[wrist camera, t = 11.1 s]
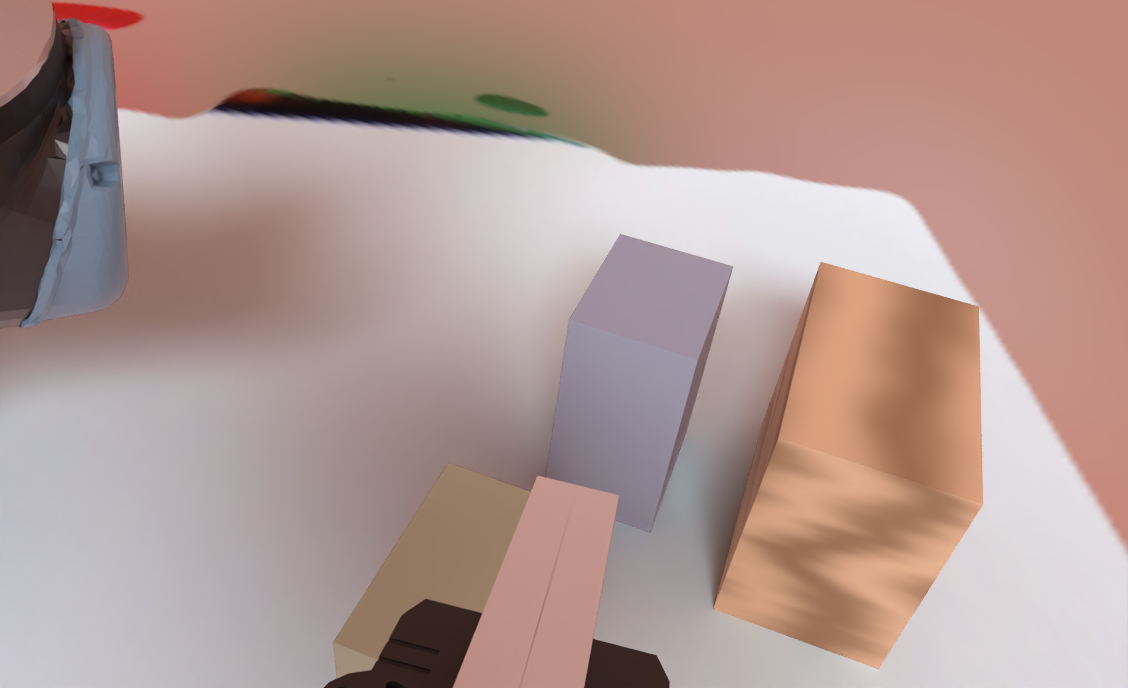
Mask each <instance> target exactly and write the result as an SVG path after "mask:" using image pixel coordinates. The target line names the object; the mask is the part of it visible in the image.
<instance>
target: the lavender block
mask: <svg viewBox="0 0 1128 688" xmlns="http://www.w3.org/2000/svg"><path fill="white" fill-rule="evenodd" d="M732 269H733V266H730V265H726V264H723V263H719V262H716V261H712V260H709V259H705V258H702V257H698V256H695V255H691V254H688V253H684V252H681V251H677V250H674V249H671V248H667V247H664V246H660V245H657V244H653V243H650V242H646V241H643V240H639V239H636V238H632V237H629V236H625V235H622V234H620V235H619V237H618V239H617V240H616V242H615V244H614V245H613V247H612V249H611V250H610V252H609V254H608V255H607V257H606V259H605V260H604V262H603V264H602V266H601V267H600V269H599V271H598V272H597V274H596V276H595V277H594V279H593V281H592V282H591V284H590V286H589V287H588V289H587V291H586V292H585V294H584V296H583V297H582V299H581V301H580V302H579V304H578V306H577V307H576V309H575V311H574V312H573V314H572V316H571V317H570V319H569V324H568V330H567V337H566V344H565V351H564V358H563V364H562V371H561V378H560V385H559V391H558V398H557V405H556V412H555V418H554V425H553V432H552V439H551V445H550V452H549V459H548V466H547V473H546V478H550V479H554V480H558V481H562V482H566V483H571V484H575V485H579V486H583V487H587V488H591V489H595V490H599V491H603V492H608V493H612V494H616V495H619V498H618V503H617V509H616V514H615V520H616V521H619V522H622V523H625V524H628V525H630V526H633V527H636V528H639V529H642V530H645V531H647V532H651V529H652V526H653V523H654V520H655V518H656V515H657V512H658V509H659V506H660V504H661V501H662V498H663V495H664V493H665V490H666V487H667V484H668V481H669V479H670V476H671V473H672V470H673V467H674V465H675V462H676V459H677V456H678V453H679V451H680V448H681V445H682V442H683V440H684V437H685V434H686V431H687V427H688V424H689V420H690V417H691V413H692V410H693V406H694V403H695V399H696V396H697V392H698V389H699V385H700V381H701V378H702V374H703V371H704V367H705V364H706V360H707V357H708V353H709V350H710V346H711V343H712V339H713V336H714V332H715V329H716V325H717V322H718V318H719V315H720V311H721V308H722V304H723V301H724V297H725V294H726V290H727V287H728V283H729V280H730V276H731V273H732Z"/></svg>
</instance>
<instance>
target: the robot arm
mask: <svg viewBox="0 0 1128 688" xmlns="http://www.w3.org/2000/svg"><path fill="white" fill-rule="evenodd" d="M127 281H128V253H127V237H126V222H125V208H124V194H123V179H122V165H121V151H120V139H119V127H118V112H117V97H116V85H115V71H114V59H113V52H112V40H111V38H110V36H109V34H108V33H107V32H106V31H105V30H104V29H103V28H102V27H100V26H98V25H94V24H87V23H82V22H80V21H79V20H77V19H75V18H69V19H61V20H60V21H59V22H58V21H57V18H56V15H55V12H54V7H53V4H52V2H51V0H0V328H6V327H16V326H19V327H21V328H27V327H32V326H35V325H37V324H38V323H39V322H40V321H43V320H49V319H55V318H61V317H67V316H73V315H80V314H86V313H92V312H97V311H100V310H103V309H105V308H107V307H109V306H110V305H112V304H113V303H115V302H116V301H117V300H118V299H119V297H120V296H121V295H122V293H123V292H124V290H125V288H126V285H127ZM618 498H619V495H616V494H612V493H608V492H603V491H599V490H595V489H591V488H587V487H583V486H579V485H575V484H571V483H566V482H562V481H558V480H554V479H550V478H546V477H542V476H538V475H537V478H536V480H535V483H534V485H533V488H532V490H531V493H530V495H529V498H528V500H527V503H526V505H525V508H524V510H523V513H522V515H521V518H520V520H519V523H518V525H517V528H516V530H515V533H514V535H513V538H512V540H511V543H510V545H509V548H508V550H507V553H506V555H505V558H504V560H503V563H502V565H501V568H500V570H499V573H498V576H497V578H496V581H495V583H494V586H493V588H492V591H491V593H490V596H489V598H488V601H487V603H486V606H485V608H484V611H483V613H480V612H476V611H472V610H468V609H464V608H460V607H456V606H453V605H449V604H445V603H441V602H437V601H433V600H429V599H425V600H423V601H422V602H420V603H419V604H417V605H416V606H414V607H413V608H411V609H410V610H408V611H407V612H405V613H404V614H402V615H401V617H400V619H399V621H398V623H397V624H396V626H395V628H394V630H393V632H392V634H391V635H390V637H389V641H388V642H387V643H386V644H385V646H384V648H383V650H382V652H381V654H380V655H379V659H378V661H376V663H375V664H374V666H373V668H372V670H368V671H361V672H354V673H348V674H346V675H344V676H342V677H339V678H337V679H335V680H333V681H331V682H329V683H328V684H327V685H326V686H325V687H324V688H669V680H668V678H667V676H666V673H665V671H664V669H663V667H662V665H661V663H660V661H659V659H658V657H657V655H653V654H649V653H645V652H641V651H638V650H634V649H630V648H626V647H622V646H618V645H614V644H610V643H606V642H602V641H599V640H595V639H593V635H594V630H595V624H596V619H597V613H598V608H599V602H600V597H601V591H602V586H603V580H604V575H605V569H606V564H607V558H608V553H609V547H610V542H611V536H612V531H613V525H614V520H615V514H616V509H617V503H618Z"/></svg>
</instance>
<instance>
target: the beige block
mask: <svg viewBox="0 0 1128 688" xmlns="http://www.w3.org/2000/svg"><path fill="white" fill-rule="evenodd" d="M530 493H531V491H528V490H525V489H522V488H519V487H517V486H514V485H511V484H508V483H505V482H502V481H500V480H497V479H494V478H491V477H488V476H485V475H483V474H480V473H477V472H474V471H471V470H469V469H466V468H463V467H460V466H457V465H454V464H452V463H448V464H447V466H446V467H445V469H444V470H443V472H442V474H441V475H440V477H439V478H438V480H437V481H436V483H435V484H434V486H433V488H432V489H431V491H430V492H429V494H428V495H427V497H426V498H425V500H424V502H423V503H422V505H421V506H420V508H419V509H418V511H417V512H416V514H415V516H414V517H413V519H412V520H411V522H410V523H409V525H408V526H407V528H406V530H405V531H404V533H403V534H402V536H401V537H400V539H399V541H398V542H397V544H396V545H395V547H394V548H393V550H392V551H391V553H390V555H389V556H388V558H387V559H386V561H385V562H384V564H383V565H382V567H381V569H380V570H379V572H378V573H377V575H376V576H375V578H374V579H373V581H372V583H371V584H370V586H369V587H368V589H367V590H366V592H365V593H364V595H363V597H362V598H361V600H360V601H359V603H358V604H357V606H356V607H355V609H354V611H353V612H352V614H351V615H350V617H349V618H348V620H347V621H346V623H345V625H344V626H343V628H342V629H341V631H340V632H339V634H338V635H337V637H336V639H335V640H334V642H333V644H334V654H335V664H336V674H337V678H339V677H342V676H344V675H346V674H348V673H354V672H361V671H368V670H372V668H373V666H374V664H375V663H376V661H378V659H379V655H380V654H381V652H382V650H383V648H384V646H385V644H386V643H387V642H388V641H389V637H390V635H391V634H392V632H393V630H394V628H395V626H396V624H397V623H398V621H399V619H400V617H401V615H402V614H404V613H405V612H407V611H408V610H410V609H411V608H413V607H414V606H416V605H417V604H419V603H420V602H422V601H423V600H425V599H429V600H433V601H437V602H441V603H445V604H449V605H453V606H456V607H460V608H464V609H468V610H472V611H476V612H480V613H483V611H484V608H485V606H486V603H487V601H488V598H489V596H490V593H491V591H492V588H493V586H494V583H495V581H496V578H497V576H498V573H499V570H500V568H501V565H502V563H503V560H504V558H505V555H506V553H507V550H508V548H509V545H510V543H511V540H512V538H513V535H514V533H515V530H516V528H517V525H518V523H519V520H520V518H521V515H522V513H523V510H524V508H525V505H526V503H527V500H528V498H529V495H530Z"/></svg>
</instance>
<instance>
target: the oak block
mask: <svg viewBox="0 0 1128 688" xmlns="http://www.w3.org/2000/svg"><path fill="white" fill-rule="evenodd" d="M982 505H983V480H982V434H981V387H980V340H979V307H978V306H975V305H971V304H968V303H964V302H961V301H957V300H954V299H950V298H947V297H943V296H939V295H936V294H932V293H929V292H925V291H922V290H918V289H915V288H911V287H908V286H904V285H901V284H897V283H894V282H890V281H886V280H883V279H879V278H876V277H872V276H869V275H865V274H862V273H858V272H855V271H851V270H848V269H844V268H841V267H837V266H833V265H830V264H826V263H823V262H821V263H820V266H819V268H818V271H817V274H816V277H815V279H814V282H813V285H812V288H811V291H810V293H809V296H808V299H807V302H806V304H805V307H804V310H803V313H802V316H801V318H800V321H799V324H798V327H797V329H796V332H795V335H794V338H793V341H792V343H791V346H790V349H789V352H788V354H787V357H786V360H785V363H784V365H783V368H782V371H781V374H780V377H779V379H778V382H777V385H776V388H775V390H774V393H773V396H772V399H771V402H770V404H769V407H768V410H767V413H766V415H765V418H764V421H763V424H762V427H761V431H760V435H759V439H758V442H757V446H756V450H755V454H754V458H753V461H752V465H751V469H750V473H749V476H748V480H747V484H746V488H745V491H744V495H743V499H742V503H741V506H740V510H739V514H738V518H737V522H736V525H735V529H734V533H733V537H732V540H731V544H730V548H729V552H728V555H727V559H726V563H725V567H724V570H723V574H722V578H721V582H720V586H719V589H718V593H717V597H716V601H715V604H714V608H713V609H716V610H719V611H721V612H724V613H727V614H730V615H732V616H735V617H738V618H740V619H743V620H746V621H749V622H751V623H754V624H757V625H759V626H762V627H765V628H768V629H770V630H773V631H776V632H779V633H781V634H784V635H787V636H789V637H792V638H795V639H798V640H800V641H803V642H806V643H809V644H811V645H814V646H817V647H819V648H822V649H825V650H828V651H830V652H833V653H836V654H838V655H841V656H844V657H847V658H849V659H852V660H855V661H858V662H860V663H863V664H866V665H868V666H871V667H874V668H877V669H879V667H880V666H881V664H882V662H883V661H884V659H885V658H886V656H887V654H888V653H889V651H890V650H891V648H892V647H893V645H894V643H895V642H896V640H897V639H898V637H899V636H900V634H901V632H902V631H903V629H904V628H905V626H906V625H907V623H908V621H909V620H910V618H911V617H912V615H913V614H914V612H915V610H916V609H917V607H918V606H919V604H920V603H921V601H922V599H923V598H924V596H925V595H926V593H927V592H928V590H929V588H930V587H931V585H932V584H933V582H934V581H935V579H936V577H937V576H938V574H939V573H940V571H941V570H942V568H943V566H944V565H945V563H946V562H947V560H948V559H949V557H950V555H951V554H952V552H953V551H954V549H955V548H956V546H957V544H958V543H959V541H960V540H961V538H962V536H963V535H964V533H965V532H966V530H967V529H968V527H969V525H970V524H971V522H972V521H973V519H974V518H975V516H976V514H977V513H978V511H979V510H980V508H981V507H982Z"/></svg>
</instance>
